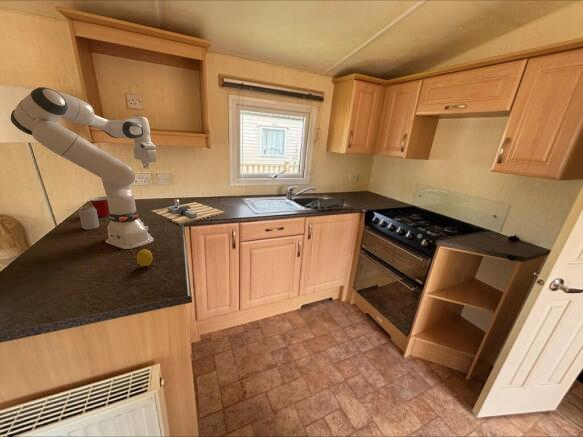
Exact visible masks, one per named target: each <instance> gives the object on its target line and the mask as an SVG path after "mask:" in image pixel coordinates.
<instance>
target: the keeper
mask: <svg viewBox="0 0 583 437" xmlns="http://www.w3.org/2000/svg"><path fill="white" fill-rule="evenodd" d="M187 209H190V206H182V207H178V210H179V215H184V212H183V210H187Z"/></svg>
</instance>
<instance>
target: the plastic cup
mask: <svg viewBox="0 0 583 437" xmlns="http://www.w3.org/2000/svg"><path fill="white" fill-rule="evenodd" d="M88 200H89V201H90V203H91V204H92V206H94V208H95V209H96V211H97V216H98V218H107V217H108V218H109V206H108V201H107V196H106V195H104V196H97V197H91V198H89V199H88Z"/></svg>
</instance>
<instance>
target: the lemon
mask: <svg viewBox="0 0 583 437" xmlns="http://www.w3.org/2000/svg"><path fill="white" fill-rule="evenodd" d="M136 261H137V262H136V263H137V264H138V265H139V266H140V267H145V266H147V267H149V266H150V265H151V264H152V262H153V254H152V252H151V250H149V249H145V248H143V249H141V250H140V251H138V252H137V254H136Z"/></svg>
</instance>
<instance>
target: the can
mask: <svg viewBox="0 0 583 437" xmlns="http://www.w3.org/2000/svg"><path fill="white" fill-rule="evenodd" d="M78 215H79V216H78V217H79V221H80V223H81V224H80V225H81V228H82V229H83V230H87V231H90V230H96V229H98V228H99V227H100V221H99V217H98V215H97V211H96V209H95V208H94V206H93V205H86V206H81V207H79V210H78Z"/></svg>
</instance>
